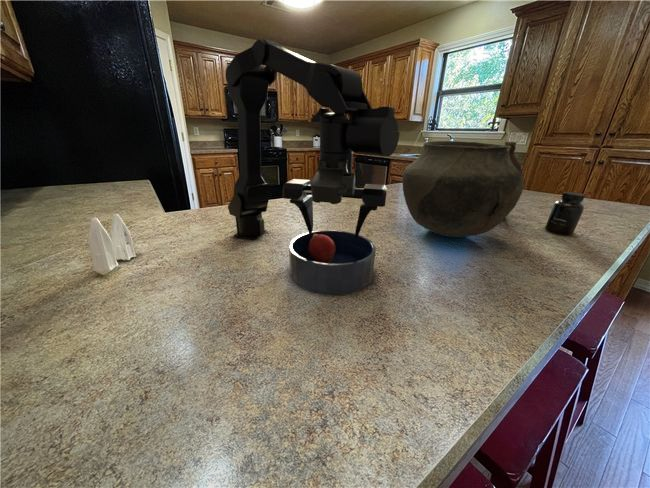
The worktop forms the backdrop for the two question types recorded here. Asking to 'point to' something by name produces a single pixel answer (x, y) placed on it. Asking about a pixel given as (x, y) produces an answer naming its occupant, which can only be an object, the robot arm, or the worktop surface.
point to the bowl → (333, 263)
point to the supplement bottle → (565, 214)
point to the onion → (321, 248)
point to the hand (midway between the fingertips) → (333, 235)
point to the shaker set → (109, 244)
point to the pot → (461, 187)
